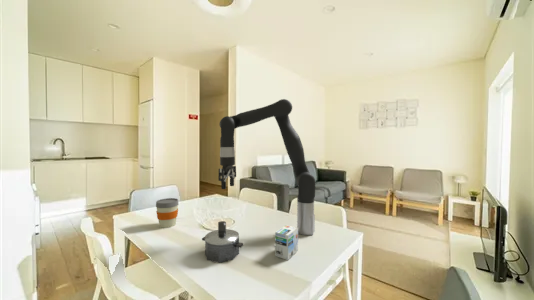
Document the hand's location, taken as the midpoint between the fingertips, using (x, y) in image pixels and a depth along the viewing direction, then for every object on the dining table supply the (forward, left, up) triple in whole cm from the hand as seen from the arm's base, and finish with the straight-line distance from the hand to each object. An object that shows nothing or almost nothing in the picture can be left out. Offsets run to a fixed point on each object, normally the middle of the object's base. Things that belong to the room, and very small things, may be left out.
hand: (228, 187), depth 115 cm
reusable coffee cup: (+45, -4, -27) cm, 52 cm away
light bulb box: (-32, +3, -27) cm, 43 cm away
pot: (-5, +14, -27) cm, 31 cm away
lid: (-5, +14, -21) cm, 26 cm away
